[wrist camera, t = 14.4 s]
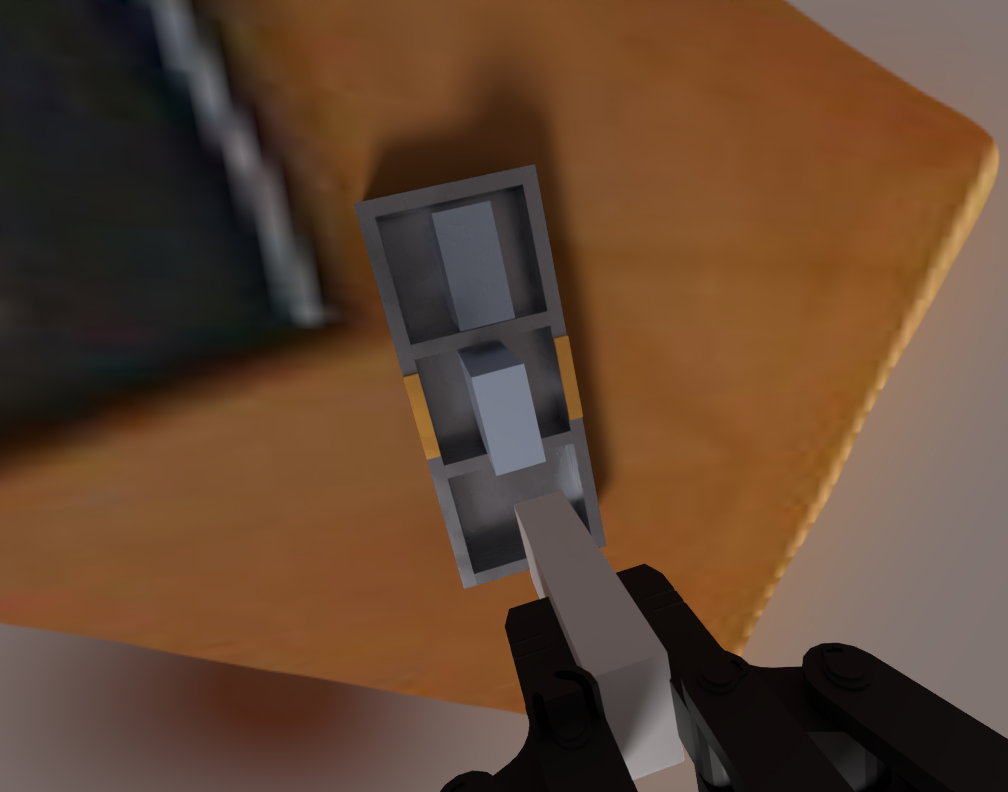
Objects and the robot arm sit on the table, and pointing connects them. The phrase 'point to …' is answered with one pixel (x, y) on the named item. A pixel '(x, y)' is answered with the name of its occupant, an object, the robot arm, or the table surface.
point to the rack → (474, 324)
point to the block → (503, 407)
